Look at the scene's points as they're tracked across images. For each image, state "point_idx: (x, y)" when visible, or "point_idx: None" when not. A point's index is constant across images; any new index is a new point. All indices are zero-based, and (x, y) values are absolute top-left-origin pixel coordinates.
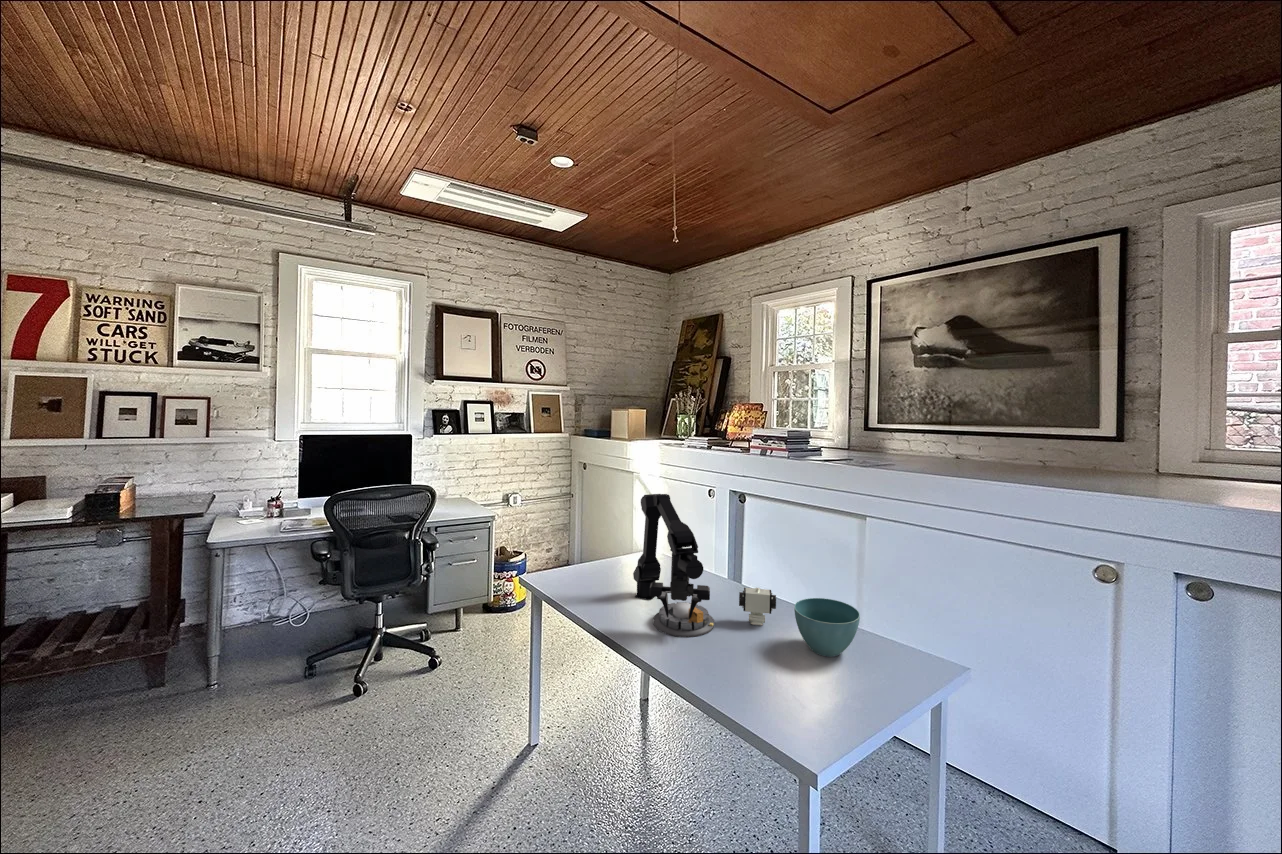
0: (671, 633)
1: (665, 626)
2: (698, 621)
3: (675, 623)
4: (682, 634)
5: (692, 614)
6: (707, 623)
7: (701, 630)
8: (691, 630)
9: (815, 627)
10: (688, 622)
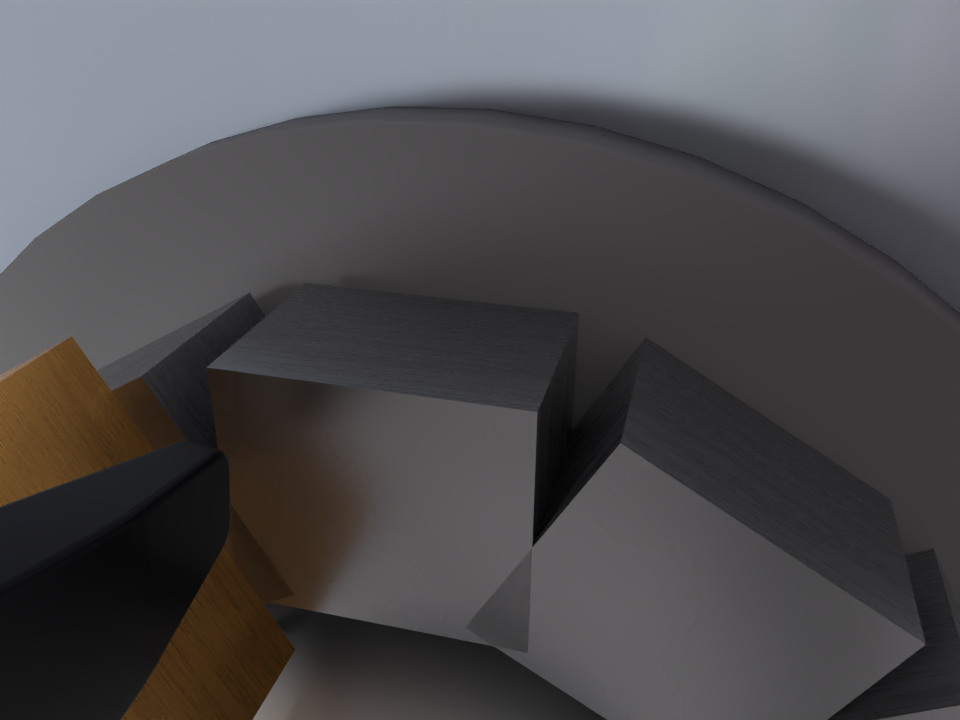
0: (857, 253)
1: None
2: (10, 373)
3: (710, 468)
4: (563, 141)
5: None
6: None
7: (108, 288)
8: None
9: None
10: (302, 406)
